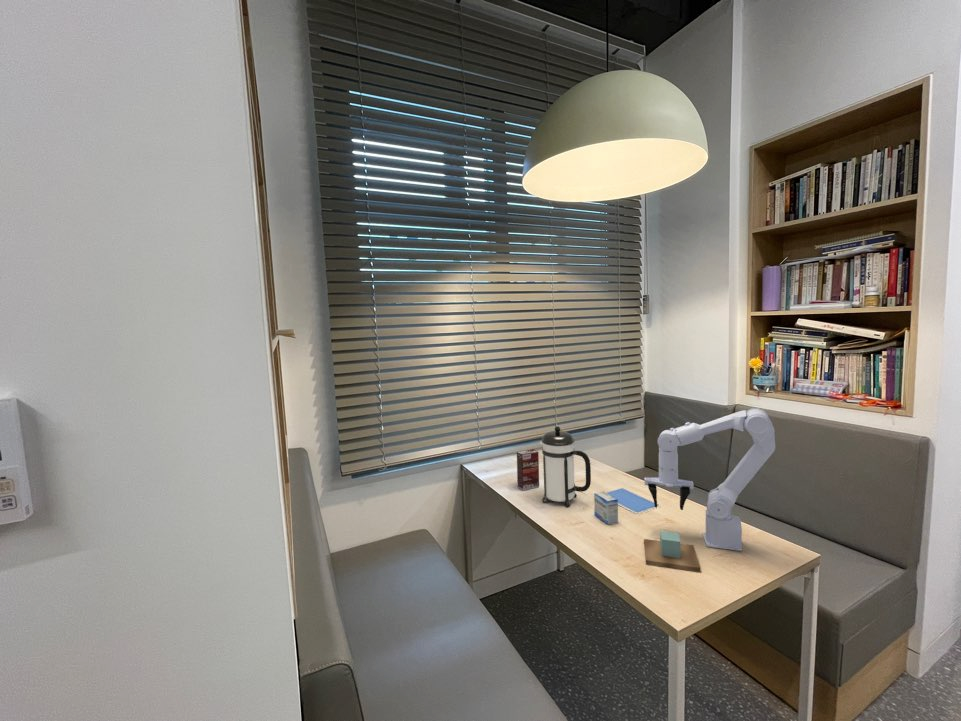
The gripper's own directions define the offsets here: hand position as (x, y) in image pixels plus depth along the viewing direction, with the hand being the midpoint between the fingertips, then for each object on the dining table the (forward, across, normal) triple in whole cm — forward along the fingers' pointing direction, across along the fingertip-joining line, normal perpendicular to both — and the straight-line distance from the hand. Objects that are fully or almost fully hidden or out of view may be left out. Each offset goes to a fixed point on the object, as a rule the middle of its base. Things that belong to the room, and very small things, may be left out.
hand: (668, 507), depth 132 cm
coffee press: (+9, -37, +16) cm, 41 cm away
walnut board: (+8, -1, -15) cm, 17 cm away
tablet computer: (+9, -12, +21) cm, 26 cm away
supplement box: (+9, -53, +25) cm, 59 cm away
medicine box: (+9, -20, +4) cm, 22 cm away
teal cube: (+7, -1, -15) cm, 17 cm away
